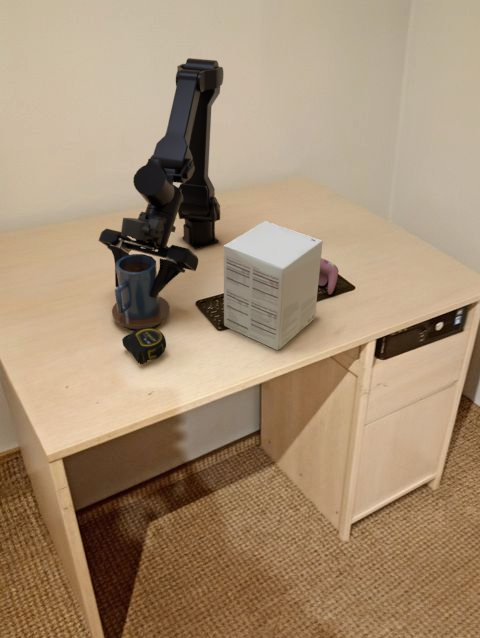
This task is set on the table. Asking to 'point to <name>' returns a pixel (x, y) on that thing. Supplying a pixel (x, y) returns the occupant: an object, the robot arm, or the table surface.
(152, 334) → the tape measure
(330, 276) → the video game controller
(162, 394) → the table surface
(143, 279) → the mug
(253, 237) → the supplement box
